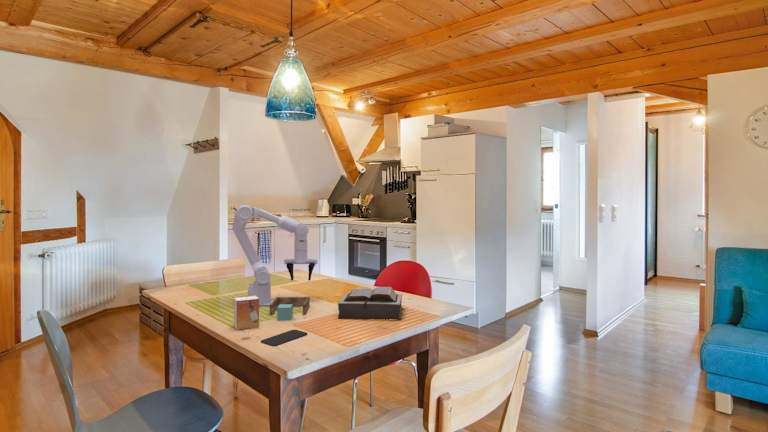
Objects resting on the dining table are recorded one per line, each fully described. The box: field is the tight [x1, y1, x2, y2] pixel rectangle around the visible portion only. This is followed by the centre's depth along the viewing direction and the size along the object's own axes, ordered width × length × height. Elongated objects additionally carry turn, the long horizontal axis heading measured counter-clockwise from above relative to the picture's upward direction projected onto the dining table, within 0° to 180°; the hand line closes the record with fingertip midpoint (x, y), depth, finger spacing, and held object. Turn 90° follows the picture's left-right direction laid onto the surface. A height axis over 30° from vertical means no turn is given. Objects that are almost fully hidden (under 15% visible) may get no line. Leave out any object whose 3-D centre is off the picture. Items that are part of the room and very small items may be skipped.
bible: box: [337, 286, 403, 321], centre depth 176 cm, size 23×27×10 cm
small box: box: [233, 296, 260, 331], centre depth 157 cm, size 8×6×10 cm
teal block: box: [276, 304, 294, 322], centre depth 167 cm, size 5×5×5 cm
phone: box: [260, 329, 308, 347], centre depth 145 cm, size 7×1×15 cm
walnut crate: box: [269, 296, 311, 316], centre depth 179 cm, size 14×14×4 cm
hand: (300, 280), depth 195 cm, fingers open, 7 cm apart
